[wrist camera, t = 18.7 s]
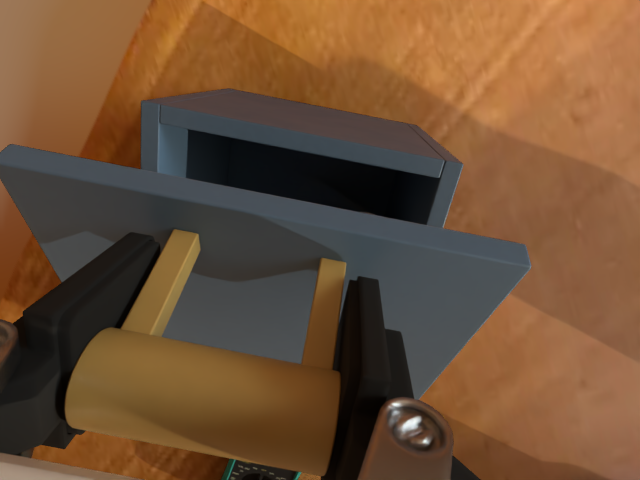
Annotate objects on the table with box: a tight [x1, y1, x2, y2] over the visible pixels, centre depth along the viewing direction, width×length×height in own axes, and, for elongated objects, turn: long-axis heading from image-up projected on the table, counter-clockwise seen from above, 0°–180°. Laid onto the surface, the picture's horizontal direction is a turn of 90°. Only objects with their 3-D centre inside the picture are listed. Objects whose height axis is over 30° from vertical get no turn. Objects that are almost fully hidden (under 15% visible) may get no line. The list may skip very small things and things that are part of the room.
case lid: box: [0, 144, 531, 476], centre depth 15 cm, size 16×14×6 cm
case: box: [141, 89, 463, 228], centre depth 26 cm, size 16×14×13 cm
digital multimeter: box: [221, 459, 301, 480], centre depth 41 cm, size 7×15×3 cm, turn 161°
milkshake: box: [294, 179, 375, 215], centre depth 25 cm, size 4×5×10 cm
